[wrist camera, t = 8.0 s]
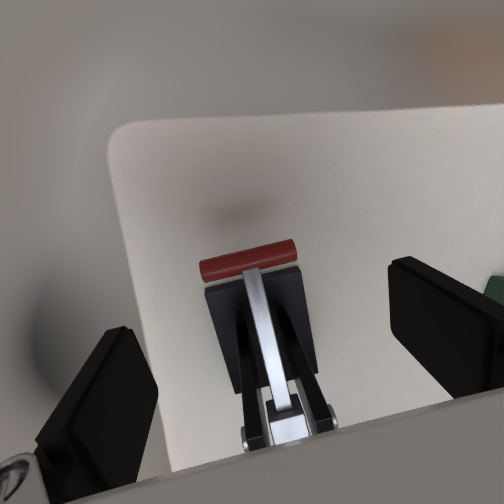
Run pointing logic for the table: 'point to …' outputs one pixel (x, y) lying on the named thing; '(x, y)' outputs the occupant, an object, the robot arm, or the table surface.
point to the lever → (265, 329)
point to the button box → (495, 289)
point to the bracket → (250, 356)
